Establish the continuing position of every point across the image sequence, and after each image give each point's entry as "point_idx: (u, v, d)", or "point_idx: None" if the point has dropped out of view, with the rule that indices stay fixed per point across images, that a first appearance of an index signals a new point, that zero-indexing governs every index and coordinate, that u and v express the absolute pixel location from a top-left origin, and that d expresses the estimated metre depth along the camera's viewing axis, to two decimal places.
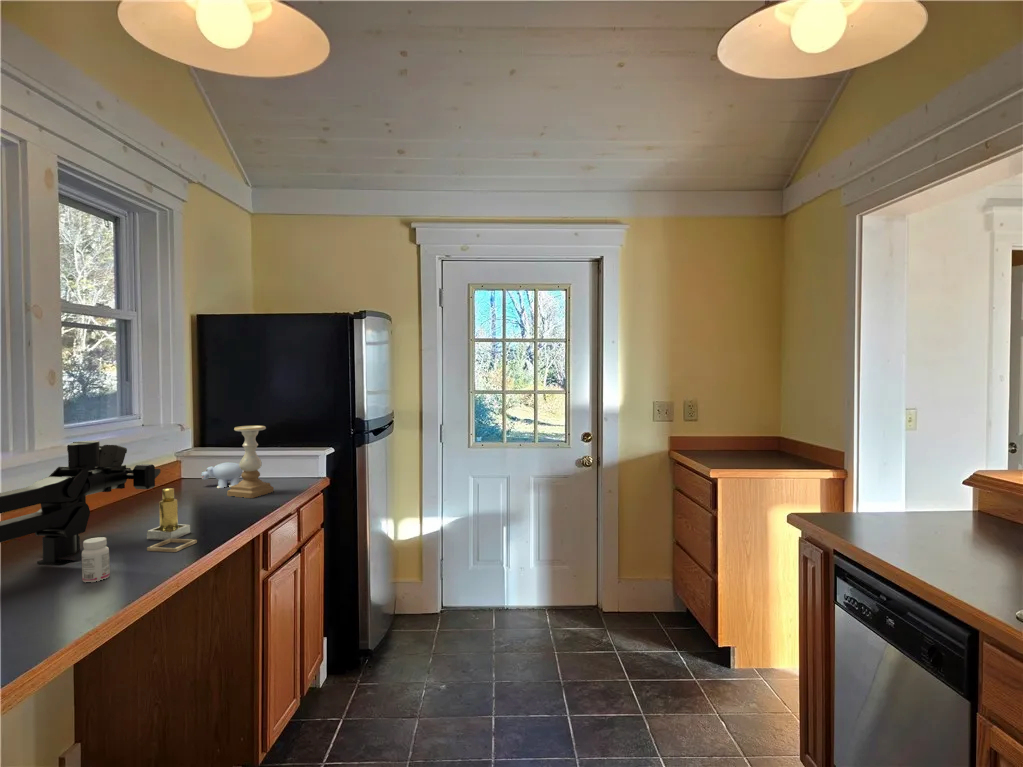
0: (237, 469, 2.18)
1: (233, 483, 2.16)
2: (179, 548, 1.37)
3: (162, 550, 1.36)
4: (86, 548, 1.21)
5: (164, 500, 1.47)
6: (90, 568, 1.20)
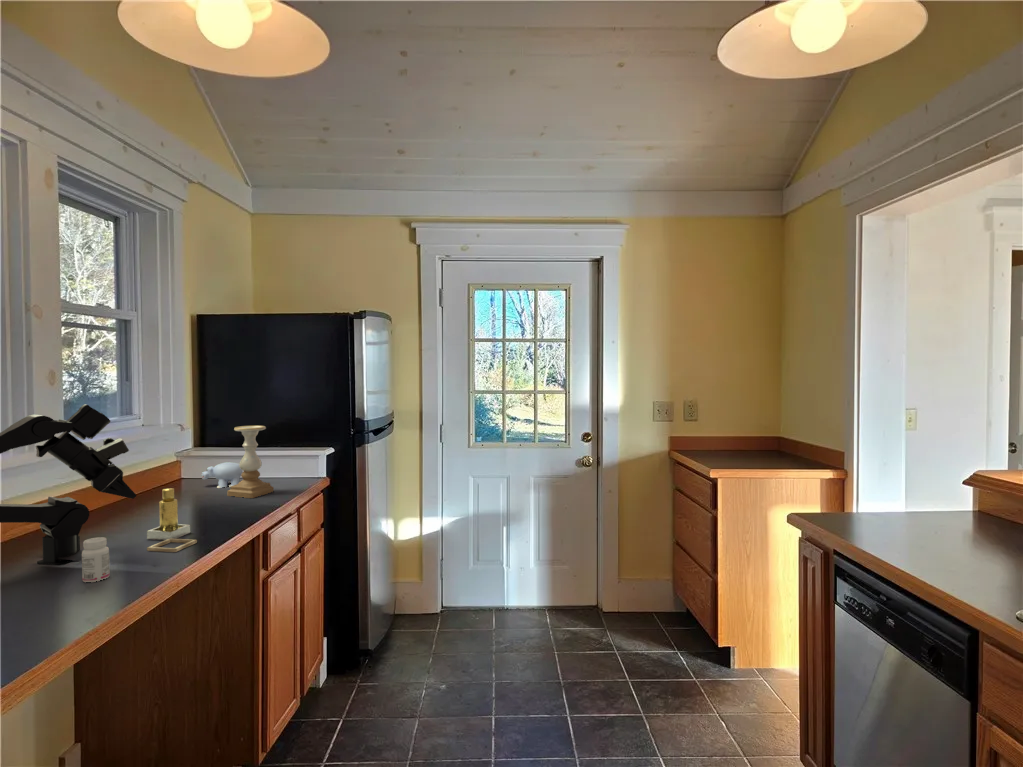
0: (237, 469, 2.18)
1: (233, 483, 2.16)
2: (179, 548, 1.37)
3: (162, 550, 1.36)
4: (86, 548, 1.21)
5: (164, 500, 1.47)
6: (90, 568, 1.20)
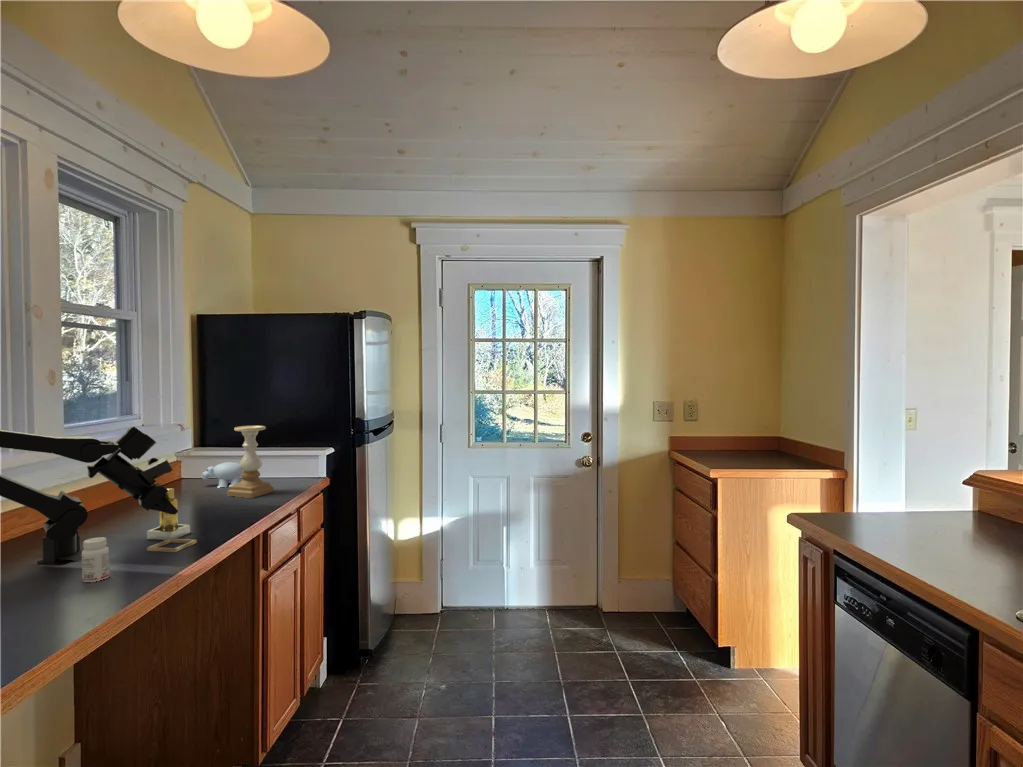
0: (237, 469, 2.18)
1: (233, 483, 2.16)
2: (179, 548, 1.37)
3: (162, 550, 1.36)
4: (86, 548, 1.21)
5: None
6: (90, 568, 1.20)
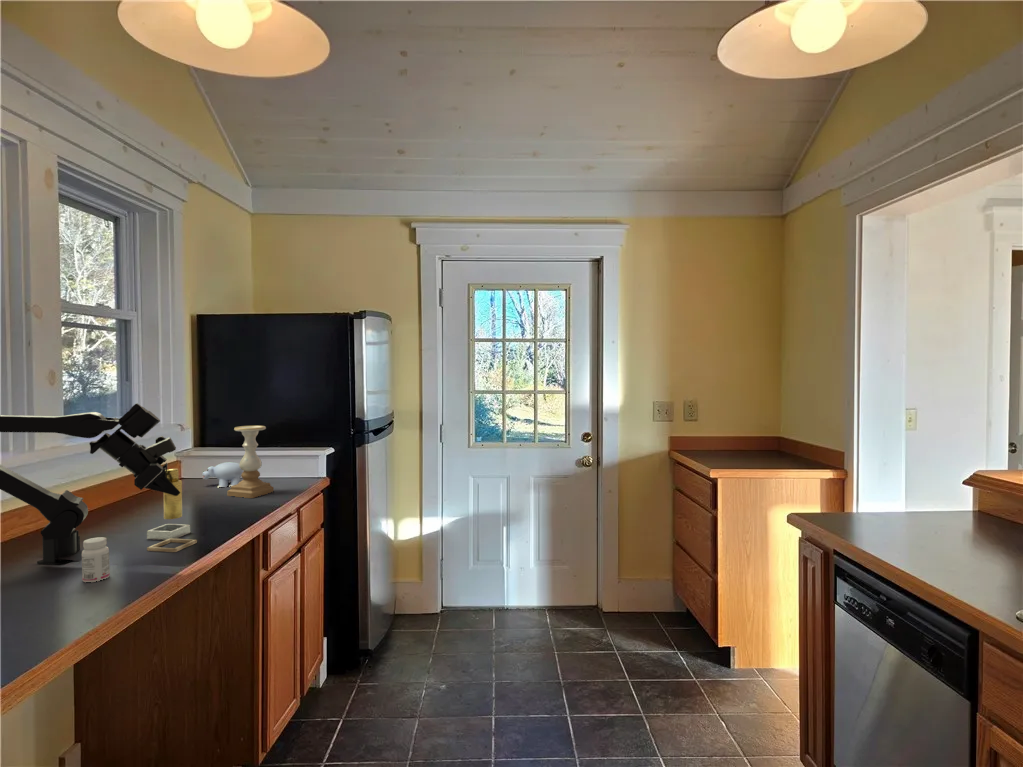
0: (237, 469, 2.18)
1: (234, 483, 2.16)
2: (179, 548, 1.37)
3: (162, 550, 1.36)
4: (86, 548, 1.21)
5: None
6: (90, 568, 1.20)
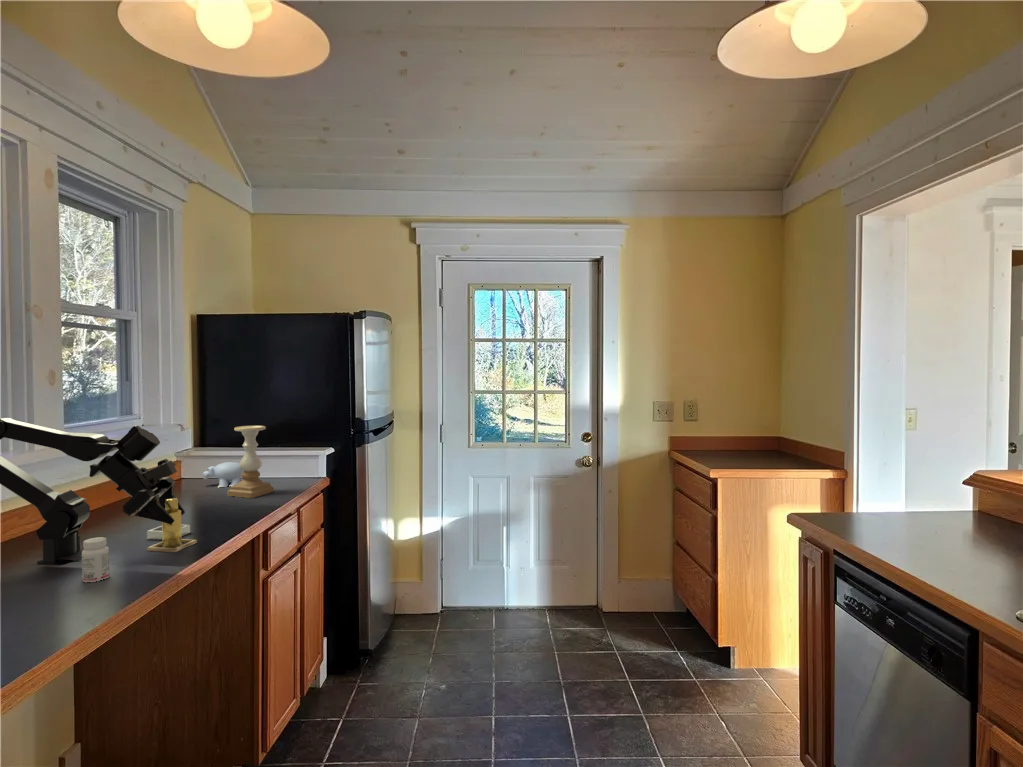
0: (237, 469, 2.18)
1: (234, 483, 2.17)
2: (179, 548, 1.37)
3: (162, 550, 1.36)
4: (86, 548, 1.21)
5: None
6: (90, 568, 1.20)
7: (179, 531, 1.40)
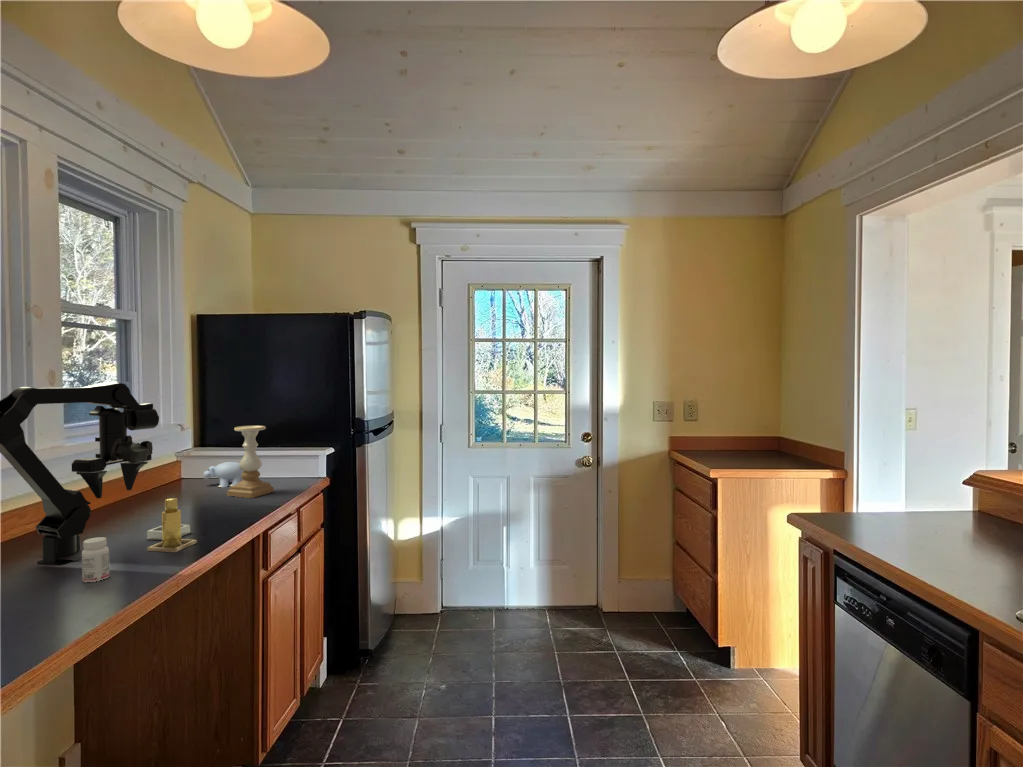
0: (238, 469, 2.18)
1: (234, 482, 2.17)
2: (179, 548, 1.37)
3: (162, 550, 1.36)
4: (86, 548, 1.21)
5: (165, 511, 1.39)
6: (90, 568, 1.20)
7: (179, 531, 1.40)
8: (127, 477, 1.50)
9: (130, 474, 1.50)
